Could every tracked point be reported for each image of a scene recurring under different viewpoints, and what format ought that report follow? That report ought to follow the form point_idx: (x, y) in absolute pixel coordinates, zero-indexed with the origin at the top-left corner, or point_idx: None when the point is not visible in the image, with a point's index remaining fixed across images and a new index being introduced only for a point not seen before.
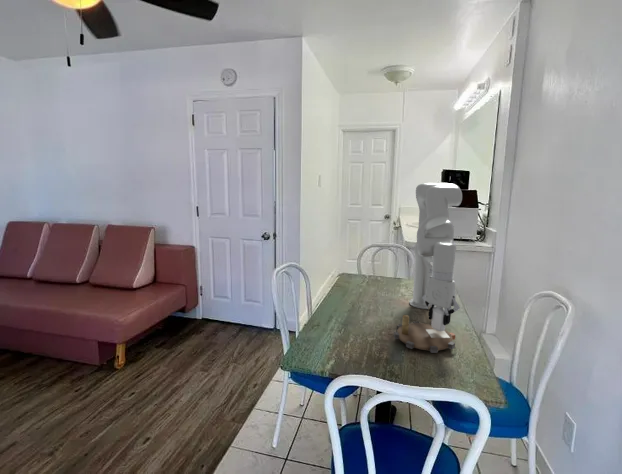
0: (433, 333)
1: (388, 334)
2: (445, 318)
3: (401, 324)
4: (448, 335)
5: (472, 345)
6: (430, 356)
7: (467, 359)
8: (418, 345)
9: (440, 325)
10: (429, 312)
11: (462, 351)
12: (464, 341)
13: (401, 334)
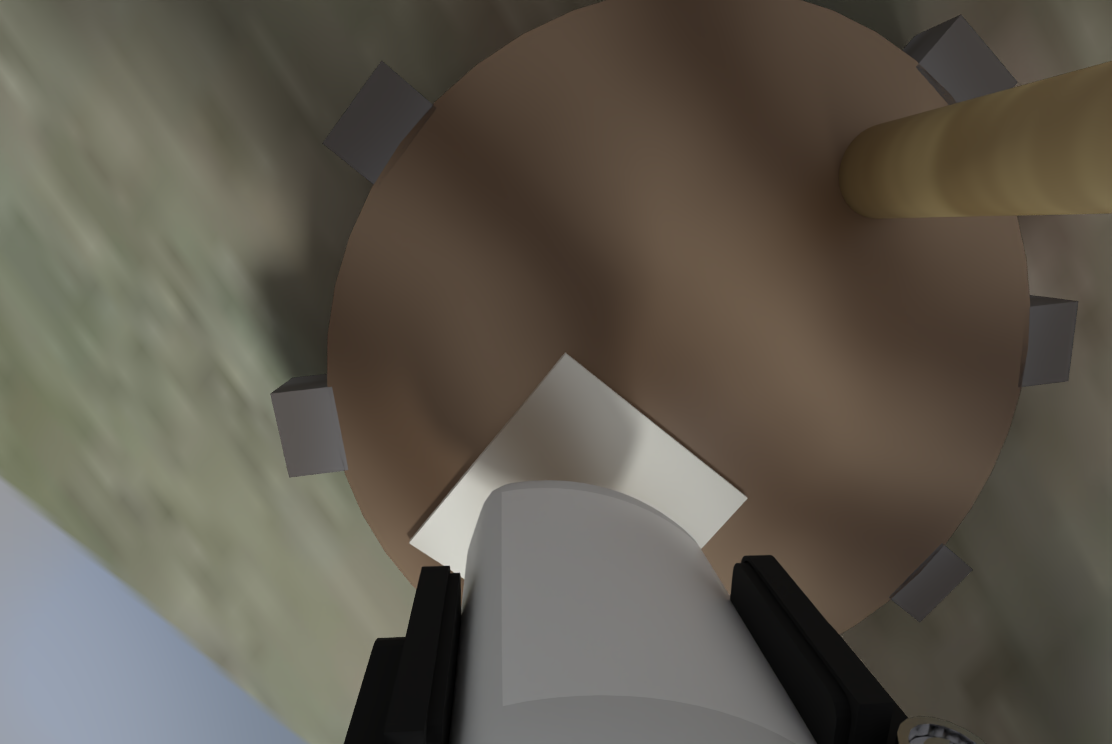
0: (613, 476)
1: None
2: (398, 669)
3: (1043, 378)
4: None
5: (301, 689)
6: None
7: (133, 391)
8: (564, 20)
9: (502, 532)
10: (837, 649)
11: (278, 504)
12: None
13: (901, 99)
